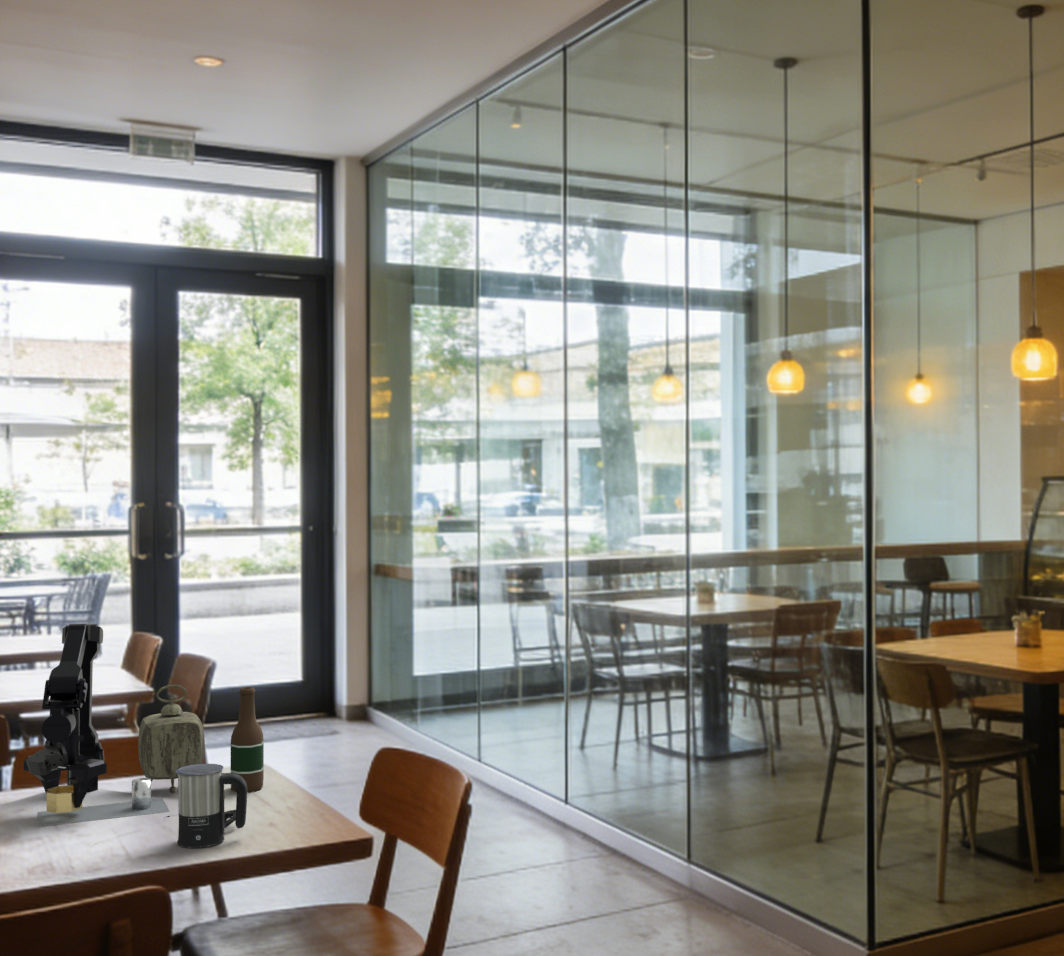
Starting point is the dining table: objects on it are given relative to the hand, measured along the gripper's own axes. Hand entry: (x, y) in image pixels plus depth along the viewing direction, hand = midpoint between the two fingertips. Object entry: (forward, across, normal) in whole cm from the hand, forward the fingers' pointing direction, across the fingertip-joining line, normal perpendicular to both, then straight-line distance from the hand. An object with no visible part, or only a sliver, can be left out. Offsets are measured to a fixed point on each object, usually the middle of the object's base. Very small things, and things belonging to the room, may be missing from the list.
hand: (64, 805), depth 240 cm
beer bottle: (+4, +18, +38) cm, 42 cm away
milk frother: (+4, +35, +5) cm, 35 cm away
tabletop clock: (+4, +3, +29) cm, 29 cm away
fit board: (+4, +5, +6) cm, 9 cm away
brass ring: (0, 0, 0) cm, 0 cm away
